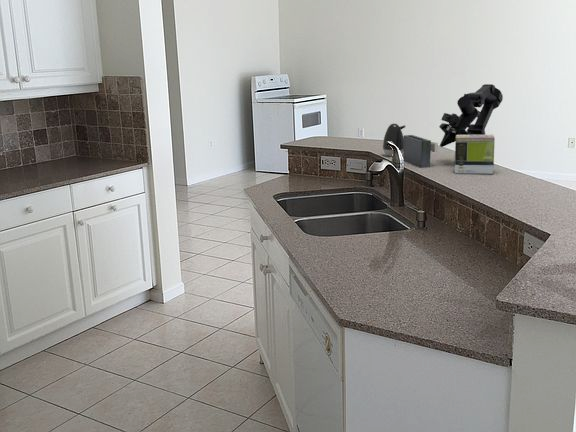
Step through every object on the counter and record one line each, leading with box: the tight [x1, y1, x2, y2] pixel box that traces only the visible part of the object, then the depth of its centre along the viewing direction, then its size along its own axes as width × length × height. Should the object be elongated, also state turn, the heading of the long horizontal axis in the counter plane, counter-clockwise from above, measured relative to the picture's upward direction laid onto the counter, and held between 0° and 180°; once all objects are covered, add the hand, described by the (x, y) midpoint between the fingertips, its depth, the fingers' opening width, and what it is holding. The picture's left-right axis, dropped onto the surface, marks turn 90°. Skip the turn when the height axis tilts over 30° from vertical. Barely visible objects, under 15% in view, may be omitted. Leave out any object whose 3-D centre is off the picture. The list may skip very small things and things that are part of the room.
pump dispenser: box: [382, 123, 406, 158], centre depth 300 cm, size 10×10×15 cm
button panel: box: [402, 134, 432, 168], centre depth 279 cm, size 4×20×11 cm, turn 12°
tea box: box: [454, 134, 495, 175], centre depth 257 cm, size 15×10×15 cm, turn 74°
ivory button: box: [431, 141, 439, 153], centre depth 272 cm, size 5×4×4 cm
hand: (440, 146), depth 273 cm, fingers closed
